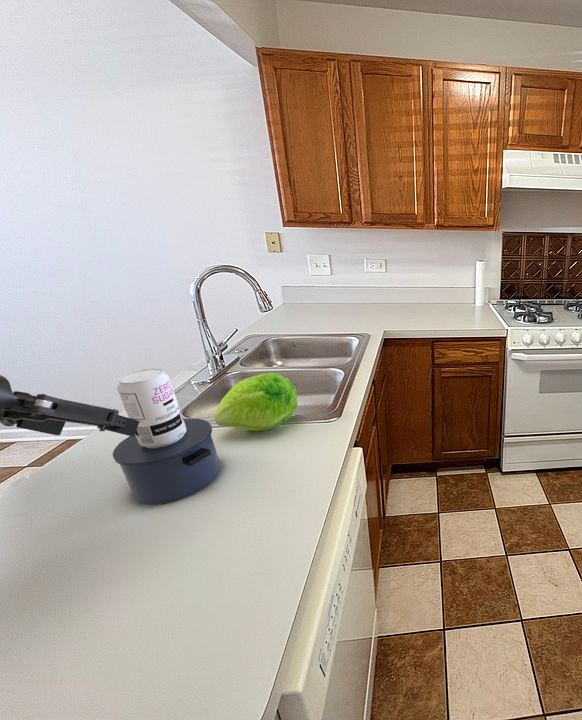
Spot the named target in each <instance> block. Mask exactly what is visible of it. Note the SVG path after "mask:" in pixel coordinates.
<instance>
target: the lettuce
mask: <svg viewBox="0 0 582 720" xmlns="http://www.w3.org/2000/svg"><path fill="white" fill-rule="evenodd" d="M297 407H298V390H297V389H296V387H295V386H294V385H293V383H292V382H291V381H290V379H289V378H287V377H285V376H283V375H282V374H280V373H278V372H263V373H259V374H256V375H252V376H248V377H246V378H243V379H241V380H239V381H238V382H236V384H234V385H233V386H232V387H231V389H229V390H228V391H227V392H226V394H225V395H224V396H223V397H222V399H221V400H220V402H219V403H218V405H217V406H216V408H215V410H214V413H213V418H214V421H215V424H216V425H217V426H219V427H221V428H222V427H229V428H234V429H239V430H246V431H257V432H261V431H269V430H272V429H274V428H276V427H278V426H280V425H282V424H285V422H286V421H288V420H289V419H290V418H291V417H292V416H293V415H294V413H295V411H296V409H297Z"/></svg>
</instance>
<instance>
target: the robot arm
mask: <svg viewBox="0 0 582 720" xmlns="http://www.w3.org/2000/svg"><path fill="white" fill-rule="evenodd" d="M119 413H120V410H118V409H116V408H108V407H103V406H98V405H93V404H87V403H83V402H79V401H72V400H67V399H63V398H58V397H54V396H51V395H47V394H45V393H37V394H36V395H32V394H30V393H29V392H24V391H17V390H14V391H13V390H12V386H11V382H10V381H9V379H8V378H6V377H5V376H4V375H2V374H0V424H1V425H3V426H5V427H14V426H15V425H16V426H15V427H16V428H18V429H24V430H27V431H34V432H38V433H42V434H47V435H52V436H61V434H62V432H63V430H64V427H65V424H66V423H72V424H73V423H74V424H79V425H87V426H94V427H95V426H96V428H97V429H99V430H98V431H99V432H105V431H108V432H112V433H116V434H119V435H120V434H121V435H124V436H127V437H129V436H135V433H136V430H137V427H138V424H139V422H140V421H137V420H134V419H131V418H129V417H128V416H124V415H120V414H119Z"/></svg>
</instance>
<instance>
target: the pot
mask: <svg viewBox="0 0 582 720" xmlns="http://www.w3.org/2000/svg"><path fill="white" fill-rule="evenodd" d="M183 420H184V423H185V426H186V432H185V434H184V435H183V437H182V438H181V439H179V440H178V441H176V442H174V443H172V444H170V445H167V446H163V447H158V448H147V447H144V446H141V445H140V444H139V443H138V440H137V438H136V435H135V436H127V437H126V438H124V439H123V440H122V441H120V442H119V443H118V444H117V445H116V446H115V448H114V449H113V451H112V458H113V460H114V462H115V463H116V464H118V465H119V466H120V468H121V470H122V472H123V475H124V476H125V480H126V481H127V484H128V487H129V489H130V491H131V493H132V496H133V498H134V500H135V501H136V502H138V503H139V504H142V505H148V506H150V505H151V506H152V505H153V506H156V505H164V504H168V503H174V502H175V501H176V502H177V501H179V500H182V499H185V498H188V497H190V496H192V495H194V494H196V493H198V492H199V491H201V490H203V489H204V488H206V487H207V486H209V485H210V484H211V483H213V481H214V480H215V479H217V477H218V476H219V474H220V472H221V469H222V467H221V462H220V460H219V455H218V453H217V450H216V446H215V443H214V439H213V437H212V432H213V428H212V425H211V423H210V422H209V421H208V420H205V419H203V418H195V417H193V418H192V417H191V418H183Z"/></svg>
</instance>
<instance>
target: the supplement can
mask: <svg viewBox="0 0 582 720" xmlns="http://www.w3.org/2000/svg"><path fill="white" fill-rule="evenodd" d="M116 390H117V392H118V394H119V397H120V399H121V402H122V404H123V407H124V410H125V412H126V415H127V418H131V419H134V420H137V421H140V422H139V424H138V427H137V430H136V433H135V435H136V438H137V440H138V443H139V444H140V445H141V446H144V447H147V448H158V447H163V446H167V445H170V444H172V443H174V442H176V441H178V440H179V439H181V438H182V437H183V435H184V434H185V432H186V426H185V423H184V420H183V419H184V417H183V413H182V411H181V408H180V405H179V403H178V402H179V401H178V400H177V396H176V393H175V390H174V387H173V384H172V381H171V379H170V376H169V375H168V374H167V373H165V371H164V370H163V369H162V368H157V367H156V368H155V367H154V368H145V369H144V368H143V369H139V370H135V371H132V372H129V373H126V374H124V375H122V376H120V377H119V378H118V384H117V387H116Z"/></svg>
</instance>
